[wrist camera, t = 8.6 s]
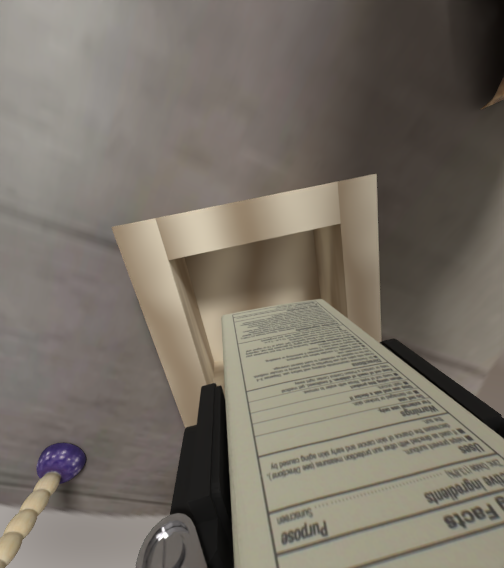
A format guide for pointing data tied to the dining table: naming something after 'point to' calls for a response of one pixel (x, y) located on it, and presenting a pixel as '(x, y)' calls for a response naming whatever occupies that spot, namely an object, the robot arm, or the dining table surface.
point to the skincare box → (350, 451)
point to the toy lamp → (41, 494)
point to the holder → (250, 271)
